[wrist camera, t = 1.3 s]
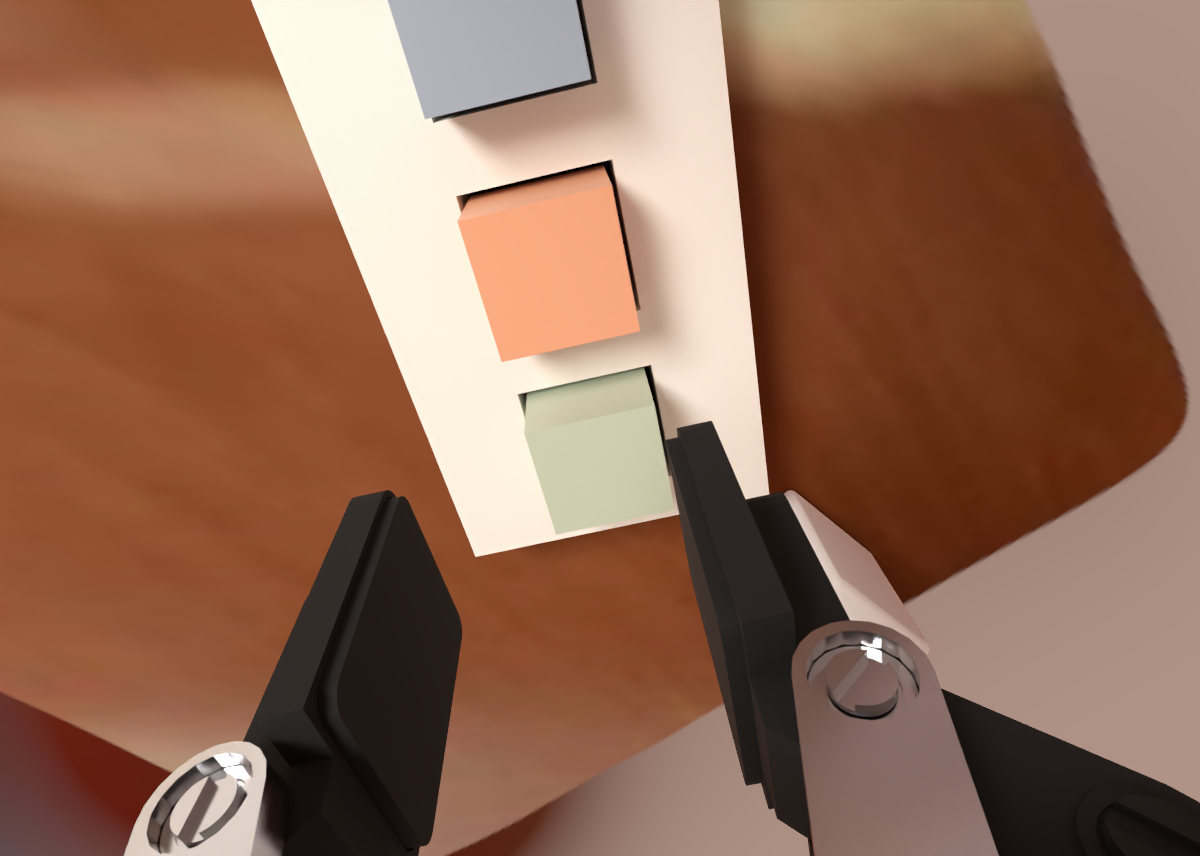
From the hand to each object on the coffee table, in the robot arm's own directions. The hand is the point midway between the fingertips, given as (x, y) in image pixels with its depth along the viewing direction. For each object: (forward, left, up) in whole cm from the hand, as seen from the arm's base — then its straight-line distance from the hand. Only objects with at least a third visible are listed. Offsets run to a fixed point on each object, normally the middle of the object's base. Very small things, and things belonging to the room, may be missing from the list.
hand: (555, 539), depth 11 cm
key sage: (+8, 0, -18) cm, 19 cm away
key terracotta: (0, 0, -17) cm, 17 cm away
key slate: (-8, 0, -18) cm, 19 cm away
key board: (0, 0, -19) cm, 19 cm away
